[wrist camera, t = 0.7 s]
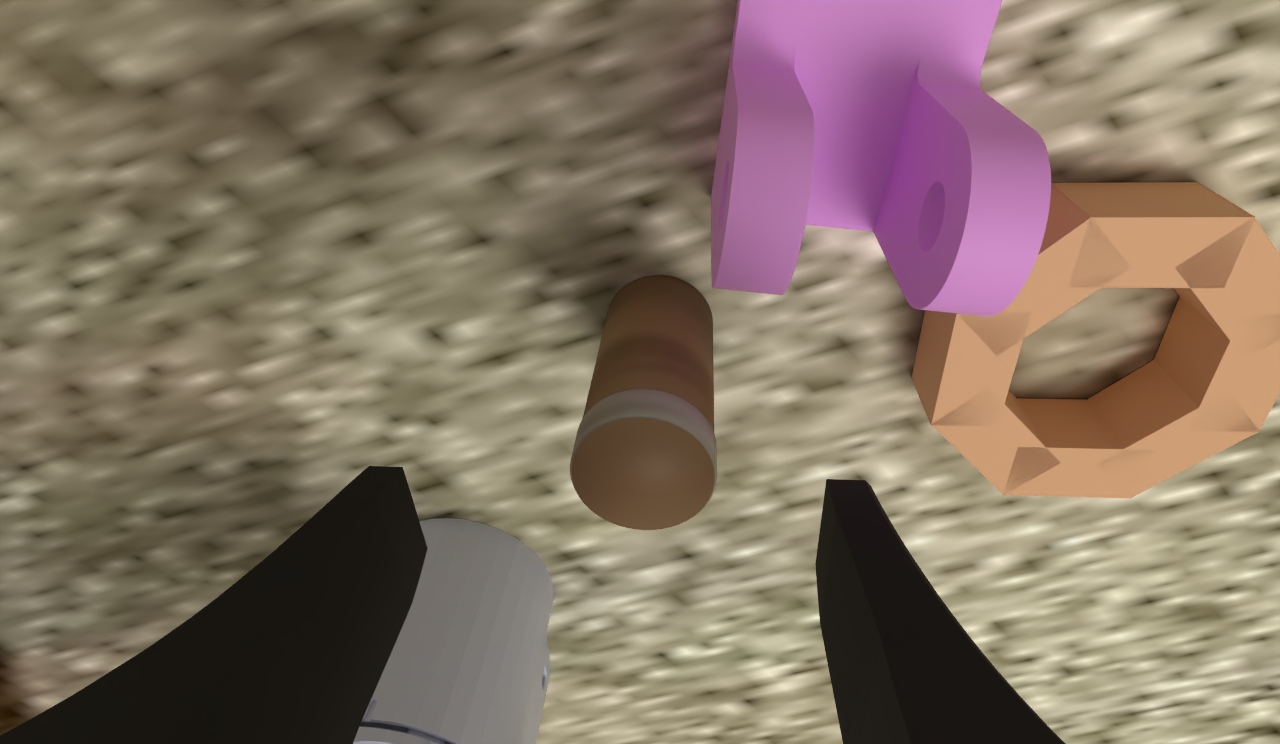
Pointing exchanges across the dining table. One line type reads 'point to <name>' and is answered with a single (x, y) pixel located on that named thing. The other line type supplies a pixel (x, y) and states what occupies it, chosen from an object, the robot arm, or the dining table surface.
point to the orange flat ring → (1145, 399)
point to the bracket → (876, 150)
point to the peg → (650, 409)
